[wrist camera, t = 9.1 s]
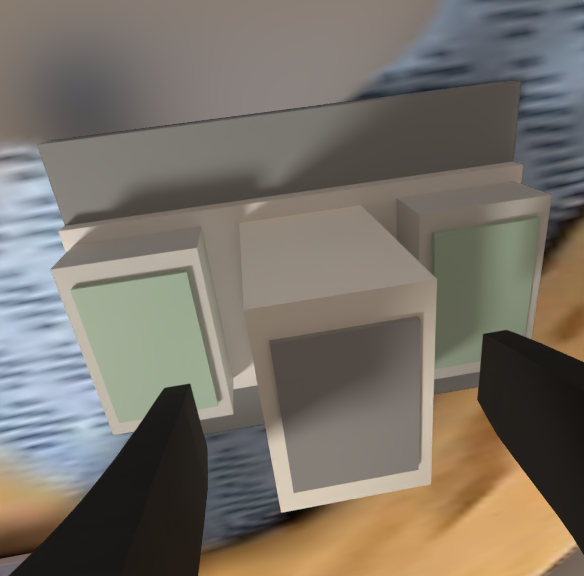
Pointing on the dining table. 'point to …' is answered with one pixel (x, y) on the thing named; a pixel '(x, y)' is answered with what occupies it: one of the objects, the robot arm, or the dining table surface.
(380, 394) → the module block
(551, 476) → the robot arm
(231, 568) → the dining table surface
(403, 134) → the mounting board
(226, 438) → the dining table surface
